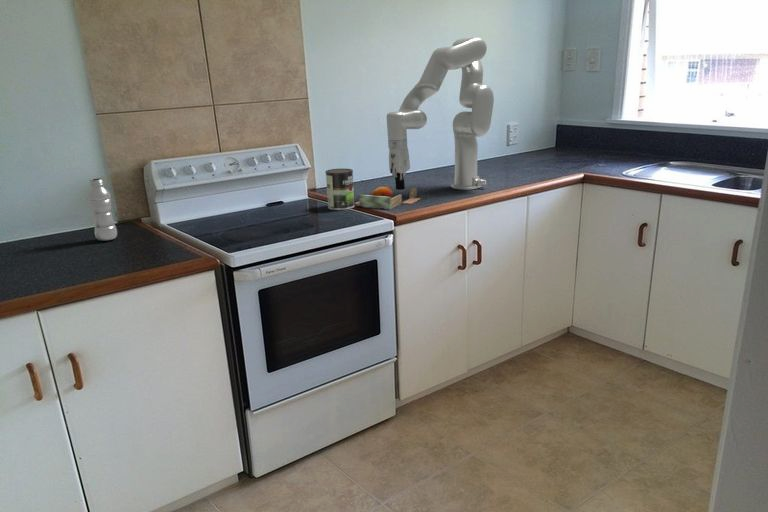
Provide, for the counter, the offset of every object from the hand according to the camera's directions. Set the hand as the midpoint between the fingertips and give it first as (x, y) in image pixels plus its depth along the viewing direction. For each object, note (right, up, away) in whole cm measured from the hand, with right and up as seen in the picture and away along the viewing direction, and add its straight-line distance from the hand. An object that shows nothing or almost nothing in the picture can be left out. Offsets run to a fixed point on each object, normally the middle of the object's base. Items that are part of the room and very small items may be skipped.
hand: (400, 189), depth 238 cm
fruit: (-7, -7, -11) cm, 15 cm away
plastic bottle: (-97, -22, -46) cm, 110 cm away
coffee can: (-23, -9, -13) cm, 28 cm away
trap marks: (-5, -5, -6) cm, 9 cm away
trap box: (-5, -5, -6) cm, 9 cm away
